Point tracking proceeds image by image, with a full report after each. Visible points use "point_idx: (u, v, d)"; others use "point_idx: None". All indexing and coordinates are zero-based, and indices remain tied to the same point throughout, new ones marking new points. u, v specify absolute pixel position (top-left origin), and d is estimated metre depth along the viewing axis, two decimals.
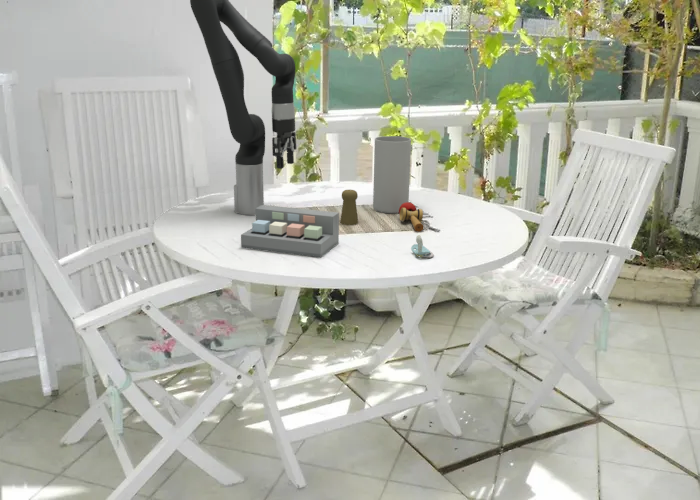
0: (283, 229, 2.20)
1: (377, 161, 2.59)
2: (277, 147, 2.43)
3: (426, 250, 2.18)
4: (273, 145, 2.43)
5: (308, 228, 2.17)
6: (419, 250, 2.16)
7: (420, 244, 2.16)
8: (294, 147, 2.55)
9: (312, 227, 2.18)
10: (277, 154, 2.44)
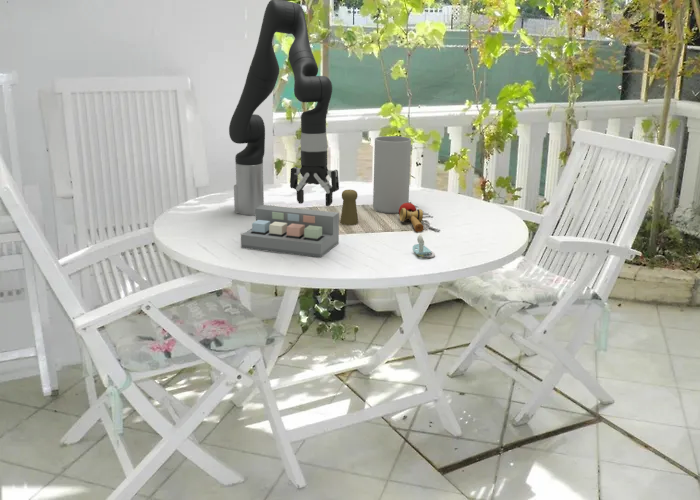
0: (283, 229, 2.20)
1: (377, 161, 2.59)
2: (337, 180, 2.14)
3: (427, 250, 2.18)
4: (335, 179, 2.13)
5: (308, 228, 2.17)
6: (420, 250, 2.17)
7: (421, 244, 2.16)
8: None
9: (312, 227, 2.18)
10: (337, 188, 2.14)
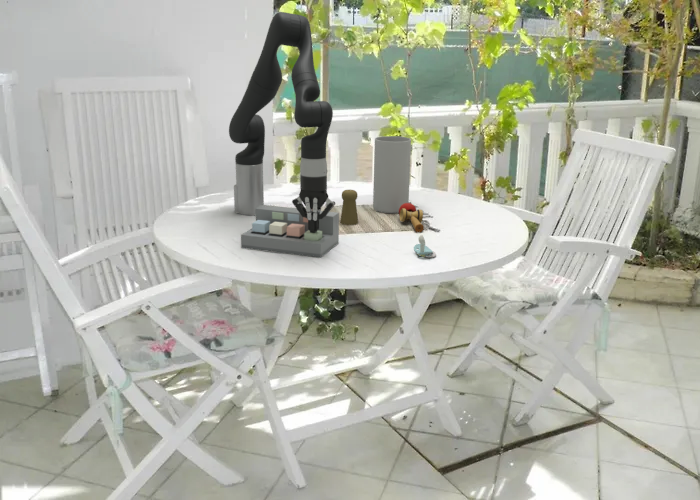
0: (283, 229, 2.20)
1: (377, 161, 2.59)
2: None
3: (428, 250, 2.19)
4: (328, 211, 2.14)
5: (308, 232, 2.17)
6: (421, 250, 2.17)
7: (422, 244, 2.16)
8: (307, 211, 2.18)
9: None
10: (324, 215, 2.16)
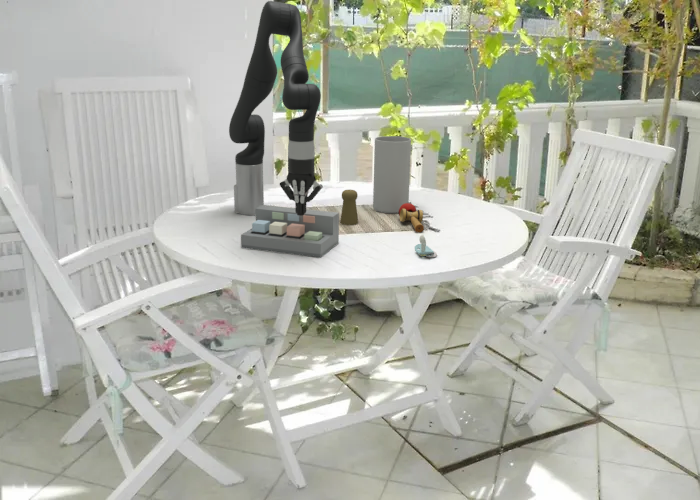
0: (283, 229, 2.20)
1: (377, 161, 2.59)
2: (316, 194, 2.16)
3: (429, 250, 2.19)
4: (315, 194, 2.14)
5: (308, 234, 2.18)
6: (422, 250, 2.17)
7: (423, 244, 2.16)
8: None
9: (312, 233, 2.18)
10: (311, 198, 2.17)
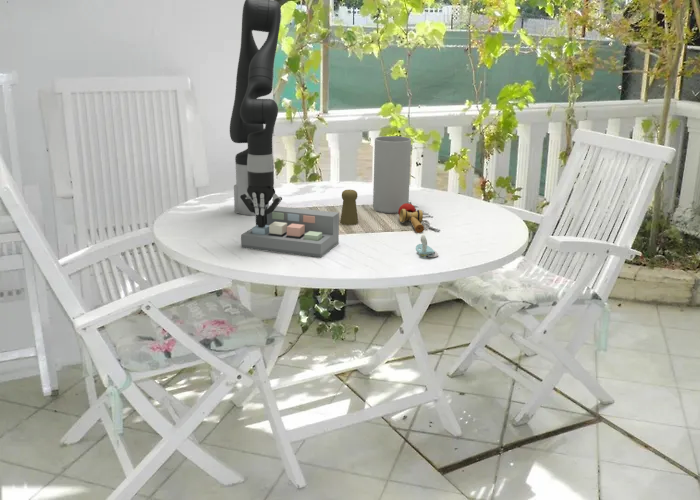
0: (283, 229, 2.20)
1: (377, 161, 2.59)
2: (276, 206, 2.20)
3: (430, 250, 2.19)
4: (275, 206, 2.19)
5: (308, 234, 2.18)
6: (423, 250, 2.17)
7: (424, 244, 2.16)
8: None
9: (312, 233, 2.18)
10: (271, 210, 2.21)
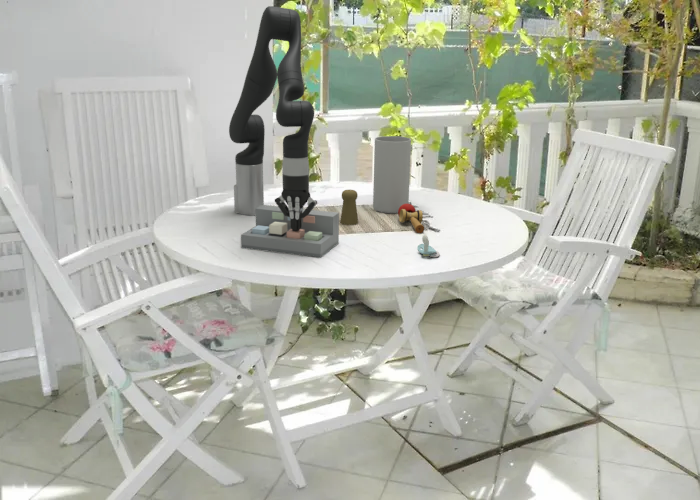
0: (283, 229, 2.20)
1: (377, 161, 2.59)
2: None
3: (432, 250, 2.19)
4: (310, 210, 2.16)
5: (308, 234, 2.18)
6: (425, 250, 2.17)
7: (426, 244, 2.16)
8: None
9: (312, 233, 2.18)
10: (306, 214, 2.18)
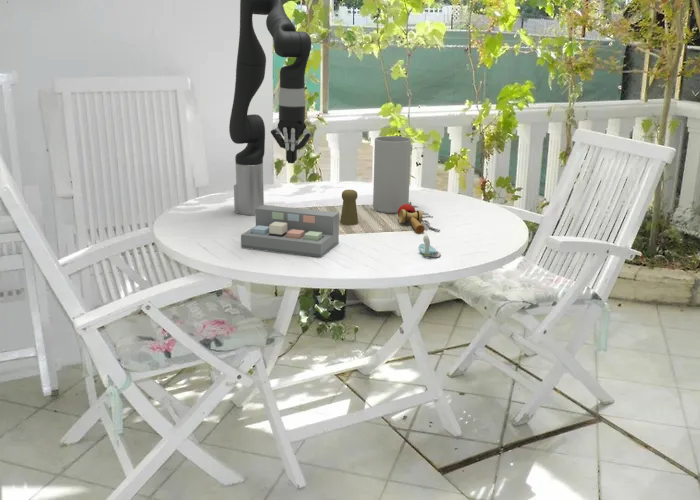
0: (283, 229, 2.20)
1: (377, 161, 2.59)
2: (306, 142, 2.20)
3: (433, 250, 2.19)
4: (305, 141, 2.18)
5: (308, 234, 2.18)
6: (426, 250, 2.17)
7: (427, 244, 2.16)
8: None
9: (312, 233, 2.18)
10: (302, 146, 2.20)
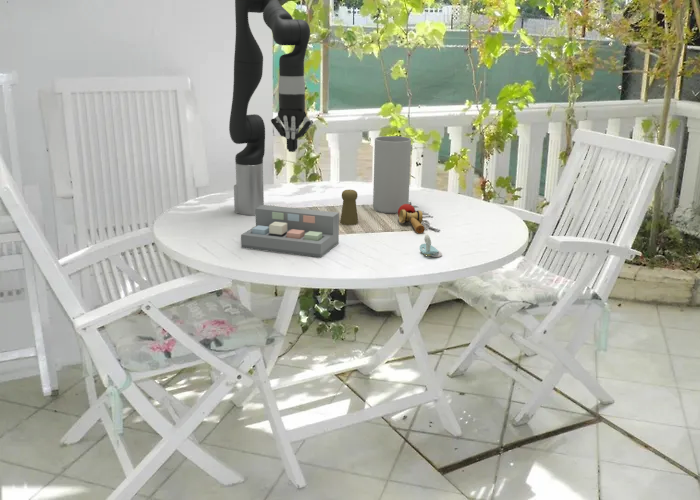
0: (283, 229, 2.20)
1: (377, 161, 2.59)
2: (306, 130, 2.20)
3: (434, 249, 2.19)
4: (306, 129, 2.19)
5: (308, 234, 2.18)
6: (427, 249, 2.17)
7: (428, 243, 2.16)
8: None
9: (312, 233, 2.18)
10: (302, 134, 2.21)
